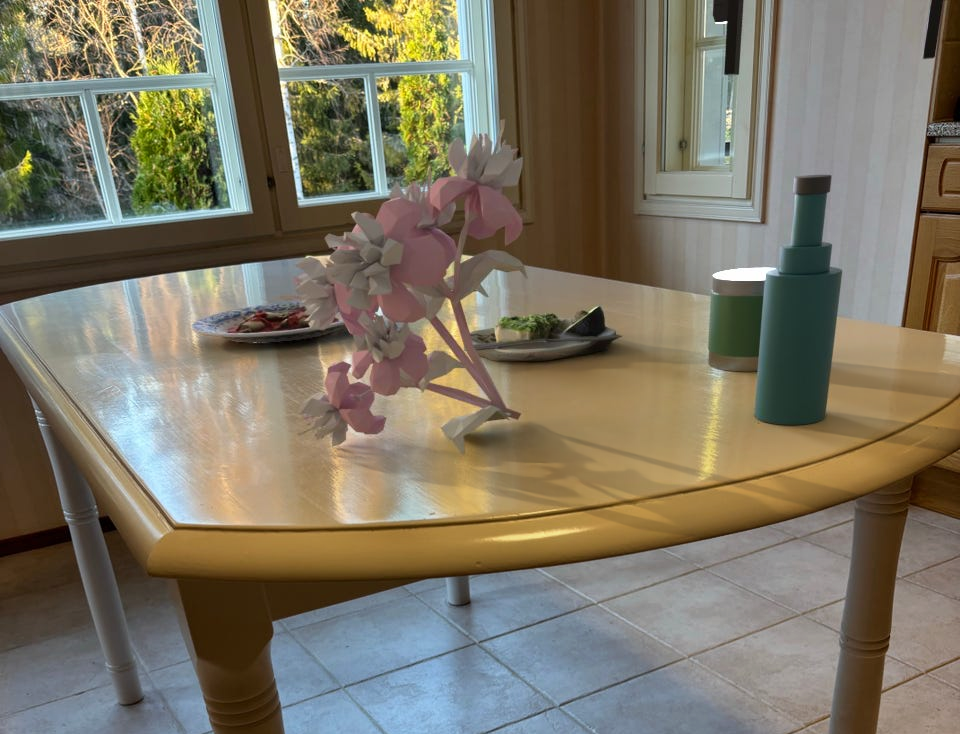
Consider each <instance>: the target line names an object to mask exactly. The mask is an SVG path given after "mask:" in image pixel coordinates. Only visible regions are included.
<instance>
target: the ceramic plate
mask: <svg viewBox="0 0 960 734" xmlns="http://www.w3.org/2000/svg"><path fill="white" fill-rule="evenodd" d="M302 301H303V300H300V301H299V300H297V301H289V302H288V301H287V302H279V303H278V302H277V303H268V304H260V305H254V306H248V307H247V306H246V307H240V308H236V309H232V310H231V309H230V310H227V311H222V312H218V313H215V314H211V315H208V316H205V317H203V318H199V319H198V320H196V321H194V322H193V323H192V324H191V326H190V328H191V331H193V332H194V333H196V334H198V335H202V336H206V337H217V338H223V339H225V340H228V341H230V340H231V341H230V342H234V341H236V342H235V343H239V342H249V343H248V344H254V343H253V342H257V343H256V344H263V343H262V342H279V343H281V342H280V341H290V342H292V341H291V340H297V341H302V340H301V339H304V340H308V339H307V338H309V339H314V338H313V337H315V338H319V337H323V336H326V335H330V334H332V332H333V333H335V332H336V331H338V330H340V329H343V328H344V327H346V325H345V323H344V322H343V320H342V318H341V315H340V311H339V308H338V310H337V313H336V315H335V318H334V320H333V323H331V324H330V325H329V326H328V327H327V328H325V329H324V330H320V329H313V328H310V326H309V322H310V321H305V320H306V319H307V318H308V317H309V316H310V315H311V314H303V315H302V316H301V317H300V318H298V317H299V313H300V312H305V311H306V310H307V308H306V307H304V306H303V307H300V308H299V305H300V302H302ZM329 333H330V334H329ZM322 335H323V336H322ZM318 336H319V337H318ZM259 342H260V343H259Z"/></svg>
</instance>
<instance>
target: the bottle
mask: <svg viewBox="0 0 960 734" xmlns="http://www.w3.org/2000/svg"><path fill="white" fill-rule="evenodd" d="M831 185H832V174H809V175H808V174H807V175H798V176H794V177H793V185H792V194H793V195H794V202H793V203H794V204H793V215H792V227H791V238H790V242H788V243H784V244H781V245H780V247H779V258H778V267H775V268H776V269H771V270H768V271H767V272H766V273H765V285H764V298H763V310H762V323H761V336H760V348H759V361H758V371H757V375H756V385H755V400H754V413H753V415H754V418H756V420H758V421H760V422H763V423H768V424H772V425H781V426H802V425H810V424H815V423H818V422H821V421H822V420H824V419H825V418H826V417H827V415H826V413H827V406H828V398H829V389H830V381H831V372H832V363H833V355H834V346H835V338H836V329H837V321H838V312H839V303H840V297H841V296H840V295H841V287H842V286H841V285H842V277H843V269H841V268H839V267H835V266H834V267H833V266H831V260H832V252H833V251H832V249H833V244H832V243H831V242H827V241H826V242H825V241H823V238H824V237H823V236H824V228H825V227H824V225H825V219H826V217H825V216H826V208H827V199H828V193H830V192H831V187H832V186H831Z"/></svg>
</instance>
